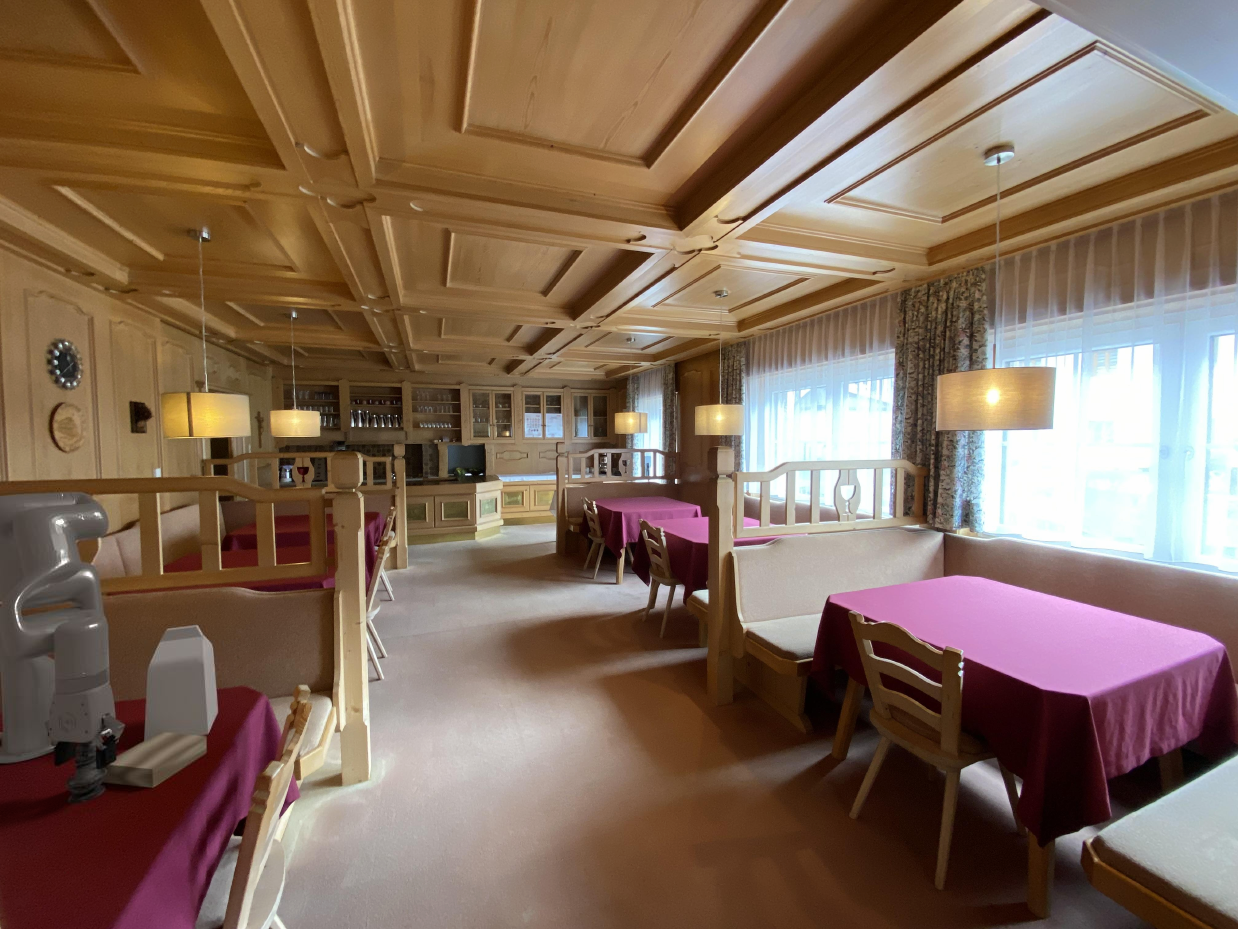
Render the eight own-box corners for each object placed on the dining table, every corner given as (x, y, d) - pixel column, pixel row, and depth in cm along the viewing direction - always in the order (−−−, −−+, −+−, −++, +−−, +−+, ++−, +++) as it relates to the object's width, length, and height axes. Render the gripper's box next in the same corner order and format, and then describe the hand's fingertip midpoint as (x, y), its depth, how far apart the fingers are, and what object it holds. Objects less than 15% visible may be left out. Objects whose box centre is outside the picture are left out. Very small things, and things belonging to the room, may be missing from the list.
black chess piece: (59, 808, 99) (58, 749, 98) (74, 789, 104) (73, 733, 103) (99, 798, 101) (98, 741, 101) (112, 781, 107) (111, 726, 106)
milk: (143, 747, 118) (142, 639, 117) (159, 723, 128) (157, 624, 127) (208, 733, 124) (207, 631, 123) (218, 711, 134) (217, 617, 133)
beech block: (103, 782, 106) (103, 764, 106) (161, 748, 118) (161, 731, 118) (153, 787, 105) (152, 769, 105) (206, 753, 117) (206, 736, 117)
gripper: (22, 687, 98) (25, 772, 99) (98, 692, 96) (101, 778, 97) (68, 670, 106) (71, 749, 106) (140, 674, 104) (142, 755, 104)
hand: (85, 763), depth 101 cm, fingers open, 9 cm apart
